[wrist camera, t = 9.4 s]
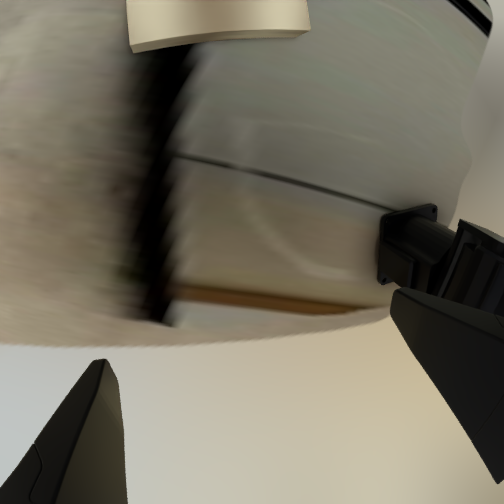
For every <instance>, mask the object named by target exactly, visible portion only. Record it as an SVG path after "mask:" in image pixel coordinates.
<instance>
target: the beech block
mask: <svg viewBox="0 0 504 504" xmlns="http://www.w3.org/2000/svg"><path fill="white" fill-rule="evenodd" d="M126 4H127V18H128V30H129V40H130V46H131V49H132V51H133V53H139V52H143V51H148V50H154V49H159V48H165V47H171V46H177V45H184V44H191V43H199V42H208V41H218V40H230V39H246V38H295V37H297V36H299V35H301V34H304V33H306V32H308V31H310V30H311V28H310V21H309V14H308V7H307V1H306V0H126Z"/></svg>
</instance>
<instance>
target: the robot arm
mask: <svg viewBox="0 0 504 504" xmlns="http://www.w3.org/2000/svg"><path fill="white" fill-rule="evenodd" d="M432 209H433V210H432ZM437 210H438V209H437V206H436V205H434V204H428V205H424V206H420V207H416V208H412V209H407V210H403V211H399V212H395V213H391V214H386V215H384V216H383V217H382V219H381V233H380V251H379V267H378V282H379V283H380V284H381V285H385V284H388V283H391V282H393V281H394V282H395V283H396V284H397V285H399V286H400V287H401V288H400V289H396V290H395V291H394V292H393V296H392V302H391V307H390V315H391V317H392V319H393V321H394V323H395V324H396V326H397V328H398V329H399V331H400V333H401V335H402V336H403V338H404V340H405V341H406V343H407V345H408V347H409V348H410V350H411V351H412V353H413V354H414V356H415V357H416V359H417V360H418V362H419V363H420V364H421V366H422V367H423V369H424V370H425V372H426V373H427V374H428V376H429V377H430V379H431V380H432V382H433V383H434V385H435V386H436V388H437V389H438V390H439V392H440V393H441V395H442V396H443V398H444V399H445V401H446V402H447V404H448V405H449V407H450V409H451V410H452V412H453V413H454V415H455V416H456V418H457V419H458V421H459V422H460V424H461V426H462V427H463V429H464V430H465V432H466V433H467V435H468V437H469V438H470V440H472V441H471V442H472V443H473V445H474V447H475V448H476V450H477V452H478V453H479V455H480V457H481V458H482V460H483V461H484V463H485V465H486V467H487V468H488V470H489V472H490V473H491V475H492V477H493V479H494V480H495V482H496V483H497V484H499V483H500V482H501V481H503V480H504V238H503V237H501V236H499V235H498V234H496V233H494V232H492V231H490V230H488V229H486V228H483V227H480V226H478V225H475V224H473V223H470V222H467V221H464V220H462V219H460V220H459V223H458V229H457V232H454V231H452V230H450V229H448V228H446V227H445V226H443V225H441V224H439V223H437V222H436V220H437ZM387 220H388V222H387V223H386V221H387ZM0 504H128V501H127V488H126V474H125V451H124V428H123V419H122V411H121V403H120V393H119V384H118V380H117V377H116V376H115V374H114V372H113V370H112V368H111V366H110V363H109V362H108V361H107V359H99V360H94V361H92V362H91V364H90V365H89V366H88V368H87V369H86V370H85V372H84V373H83V374H82V376H81V377H80V378H79V380H78V381H77V382H76V384H75V385H74V386H73V388H72V389H71V390H70V392H69V393H68V395H67V396H66V397H65V399H64V400H63V401H62V403H61V404H60V406H59V407H58V409H57V410H56V411H55V413H54V414H53V415H52V417H51V418H50V420H49V421H48V422H47V424H46V425H45V427H44V428H43V430H42V431H41V432H40V434H39V435H38V437H37V438H36V440H35V441H34V444H32V446H31V447H30V448H29V450H28V451H27V453H26V454H25V456H24V457H23V459H22V460H21V461H20V463H19V464H18V466H17V467H16V468H15V470H14V471H13V472H12V473H11V475H10V476H9V477H8V478H7V480H6V481H5V482H4V483H3V485H2V486H1V487H0Z"/></svg>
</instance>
